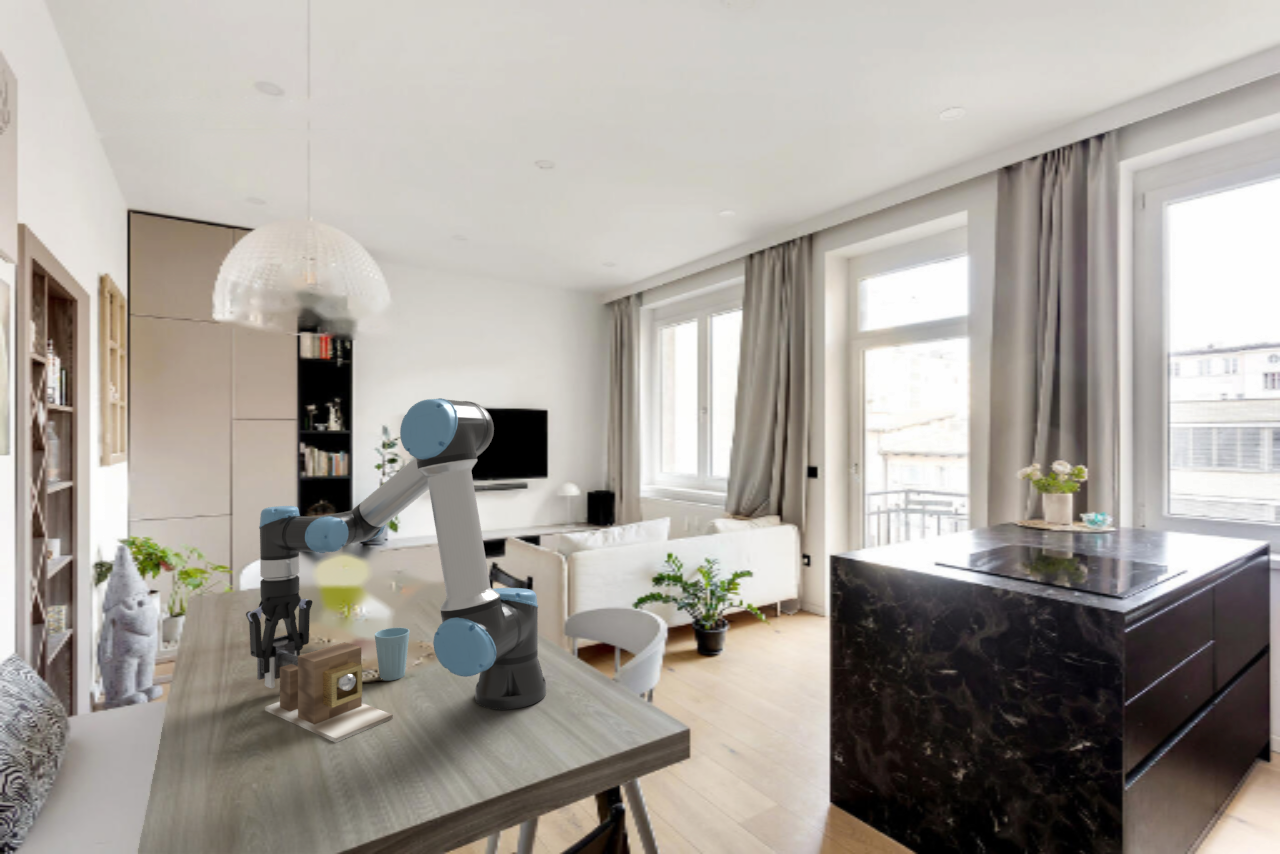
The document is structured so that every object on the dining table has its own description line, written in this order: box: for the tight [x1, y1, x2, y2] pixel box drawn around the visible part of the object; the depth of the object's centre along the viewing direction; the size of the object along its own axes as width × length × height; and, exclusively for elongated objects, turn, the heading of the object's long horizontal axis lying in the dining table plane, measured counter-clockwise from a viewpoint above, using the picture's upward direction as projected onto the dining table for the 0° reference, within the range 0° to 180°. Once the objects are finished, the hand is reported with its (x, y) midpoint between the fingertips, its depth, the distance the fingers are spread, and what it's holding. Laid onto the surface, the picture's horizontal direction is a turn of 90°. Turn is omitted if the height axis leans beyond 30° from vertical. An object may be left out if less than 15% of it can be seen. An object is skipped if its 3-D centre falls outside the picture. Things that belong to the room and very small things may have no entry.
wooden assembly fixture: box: [264, 641, 394, 743], centre depth 131 cm, size 26×12×13 cm, turn 56°
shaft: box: [256, 634, 356, 691], centre depth 135 cm, size 29×7×8 cm, turn 56°
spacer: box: [323, 662, 363, 708], centre depth 128 cm, size 3×6×6 cm, turn 146°
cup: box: [374, 627, 410, 682], centre depth 151 cm, size 8×8×10 cm
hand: (280, 682), depth 141 cm, fingers closed on shaft, 4 cm apart
